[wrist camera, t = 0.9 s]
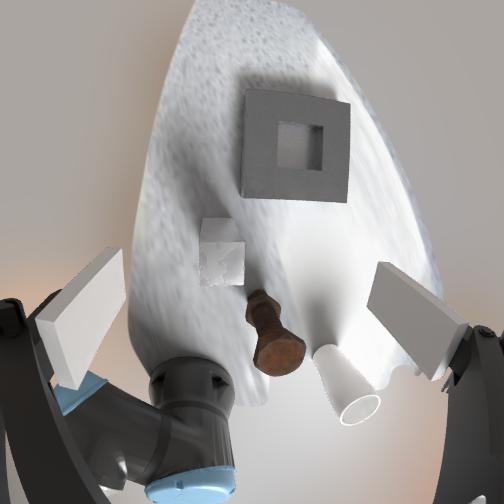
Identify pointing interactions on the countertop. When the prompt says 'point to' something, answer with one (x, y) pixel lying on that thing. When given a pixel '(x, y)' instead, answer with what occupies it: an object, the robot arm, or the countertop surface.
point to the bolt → (273, 337)
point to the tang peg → (221, 253)
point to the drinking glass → (345, 386)
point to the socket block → (295, 147)
